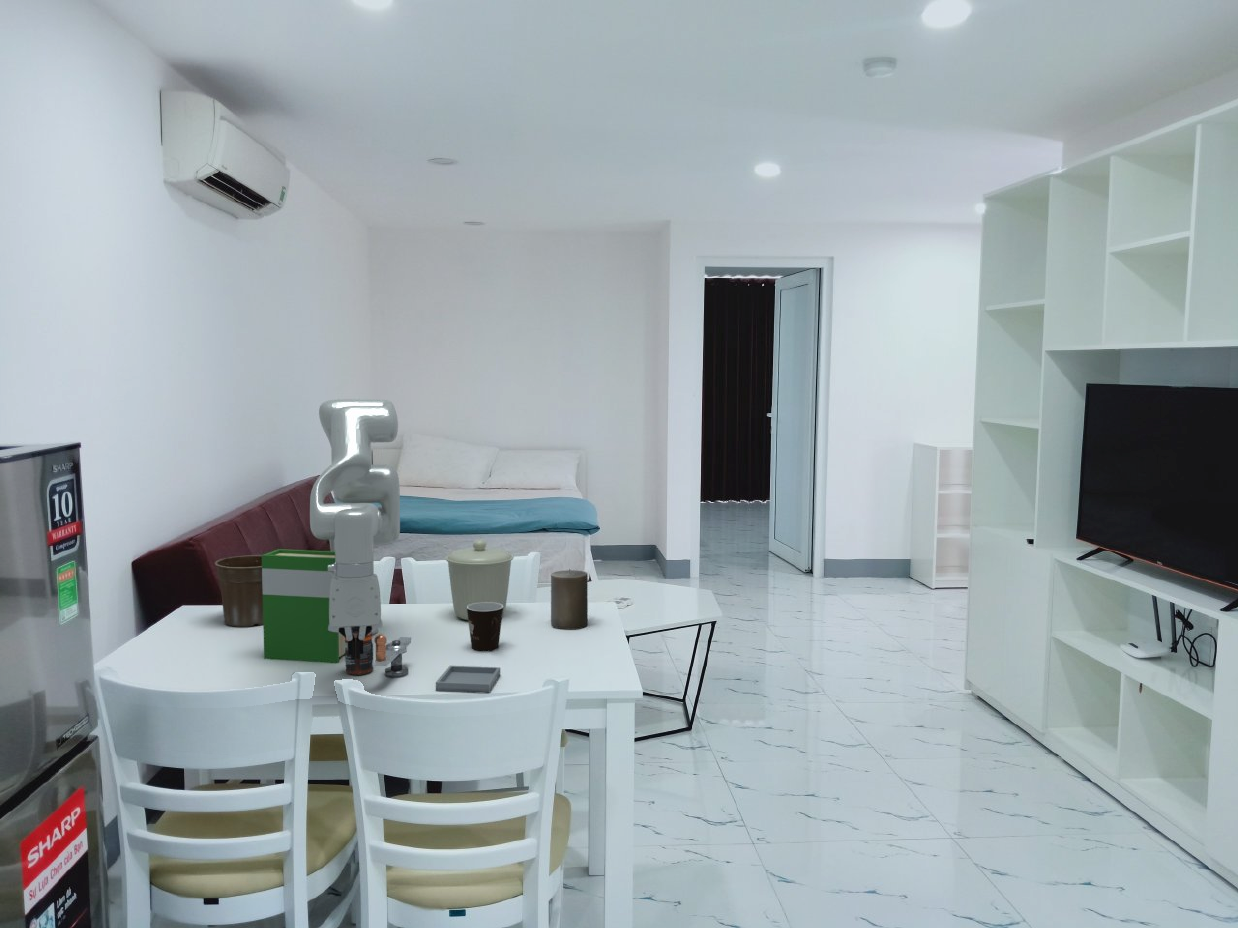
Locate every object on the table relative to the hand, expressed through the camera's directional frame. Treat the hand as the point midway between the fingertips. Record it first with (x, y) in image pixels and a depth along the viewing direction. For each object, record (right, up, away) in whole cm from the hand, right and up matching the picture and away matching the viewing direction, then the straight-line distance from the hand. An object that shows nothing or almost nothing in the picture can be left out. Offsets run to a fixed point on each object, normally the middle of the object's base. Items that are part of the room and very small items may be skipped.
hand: (355, 657), depth 191 cm
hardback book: (-18, -5, +24) cm, 30 cm away
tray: (+22, -7, +7) cm, 24 cm away
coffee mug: (+22, -5, +31) cm, 38 cm away
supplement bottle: (-3, -6, +13) cm, 15 cm away
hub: (+5, -6, +12) cm, 14 cm away
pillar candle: (+41, -3, +53) cm, 67 cm away
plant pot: (-42, -2, +53) cm, 68 cm away
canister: (+16, -2, +60) cm, 62 cm away
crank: (+5, -1, +9) cm, 11 cm away
